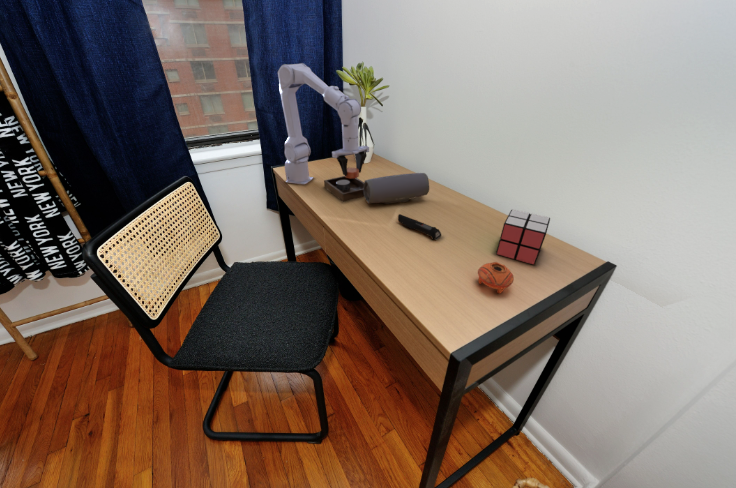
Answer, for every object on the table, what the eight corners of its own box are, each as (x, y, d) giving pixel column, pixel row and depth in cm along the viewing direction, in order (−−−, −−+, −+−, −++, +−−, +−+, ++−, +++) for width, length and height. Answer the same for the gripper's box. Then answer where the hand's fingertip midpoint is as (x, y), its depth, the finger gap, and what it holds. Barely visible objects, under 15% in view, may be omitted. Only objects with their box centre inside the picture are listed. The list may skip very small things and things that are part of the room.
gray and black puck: (334, 189, 124) (334, 183, 123) (339, 184, 128) (339, 179, 127) (347, 191, 123) (346, 185, 121) (352, 186, 127) (351, 180, 126)
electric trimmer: (402, 220, 103) (402, 211, 101) (441, 236, 94) (443, 227, 92) (395, 224, 101) (395, 215, 99) (434, 241, 92) (435, 232, 90)
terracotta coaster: (342, 177, 117) (342, 171, 115) (347, 172, 121) (347, 166, 120) (356, 179, 115) (356, 173, 114) (361, 174, 120) (361, 168, 118)
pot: (482, 269, 79) (494, 250, 75) (509, 289, 76) (523, 270, 71) (466, 282, 74) (477, 263, 70) (494, 304, 71) (508, 285, 66)
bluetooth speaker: (417, 192, 122) (419, 168, 116) (428, 202, 114) (431, 176, 109) (363, 200, 116) (362, 174, 111) (370, 210, 109) (370, 184, 103)
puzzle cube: (534, 265, 81) (546, 233, 76) (495, 254, 85) (503, 223, 80) (539, 248, 88) (550, 217, 83) (503, 238, 93) (511, 208, 87)
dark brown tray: (324, 188, 126) (323, 180, 125) (351, 182, 132) (351, 174, 130) (343, 202, 114) (342, 194, 113) (372, 195, 120) (372, 187, 118)
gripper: (337, 142, 104) (339, 180, 111) (373, 136, 110) (373, 172, 118) (328, 137, 109) (331, 174, 117) (363, 132, 115) (364, 167, 123)
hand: (351, 173), depth 118 cm, fingers closed on terracotta coaster, 5 cm apart
